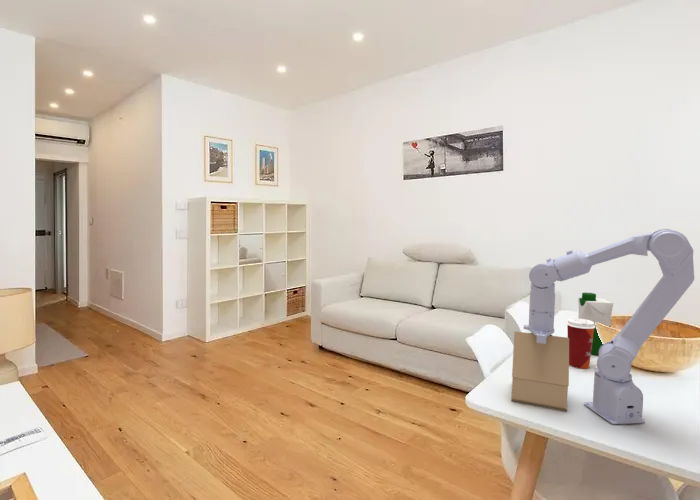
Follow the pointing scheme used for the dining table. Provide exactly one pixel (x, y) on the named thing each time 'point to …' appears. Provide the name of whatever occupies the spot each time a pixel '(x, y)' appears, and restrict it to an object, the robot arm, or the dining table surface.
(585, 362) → the paper cup
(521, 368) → the carton lid
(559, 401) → the carton
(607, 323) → the milk carton
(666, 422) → the dining table surface
